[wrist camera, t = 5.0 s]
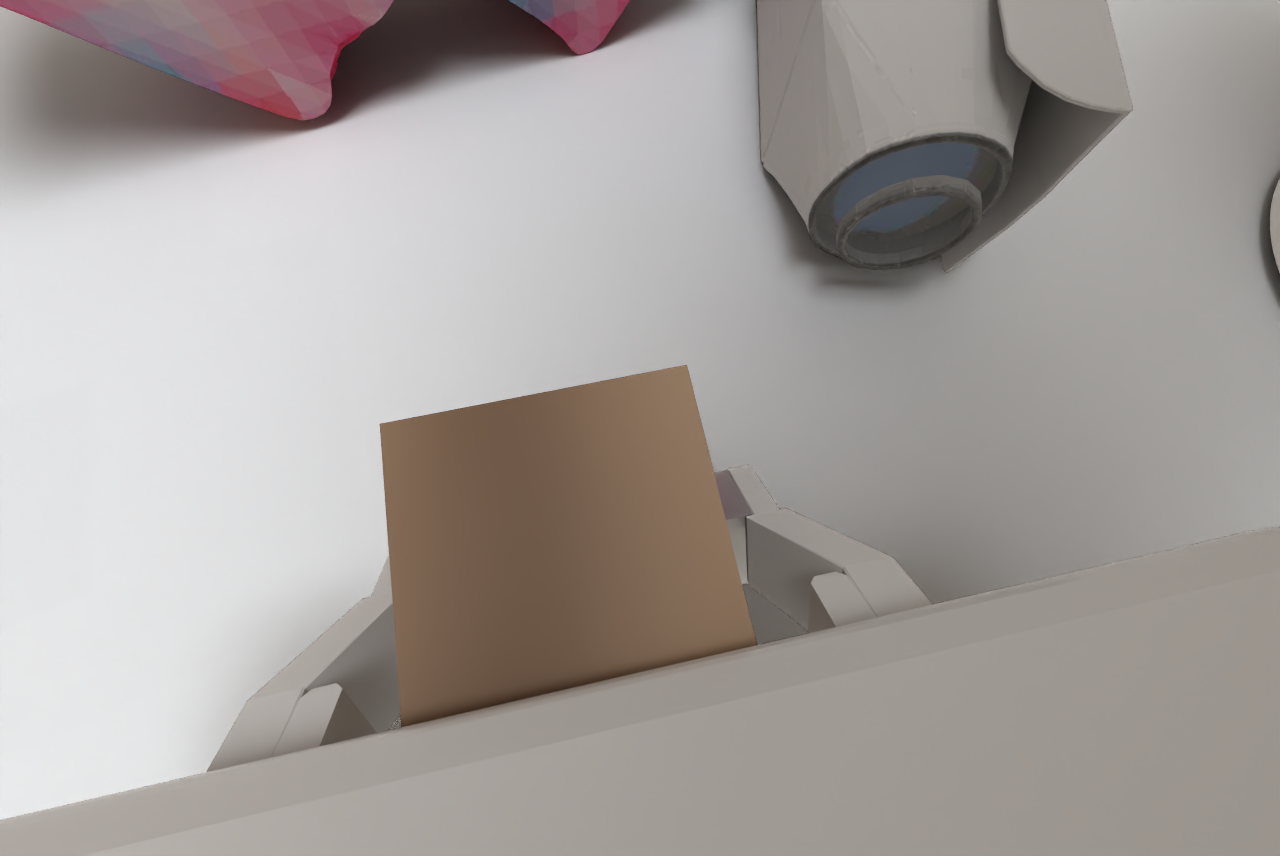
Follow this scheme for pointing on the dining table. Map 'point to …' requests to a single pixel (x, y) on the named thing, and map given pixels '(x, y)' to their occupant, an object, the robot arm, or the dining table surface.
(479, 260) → the dining table surface
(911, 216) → the security camera
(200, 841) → the robot arm
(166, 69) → the sculpture
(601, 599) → the walnut pillar
